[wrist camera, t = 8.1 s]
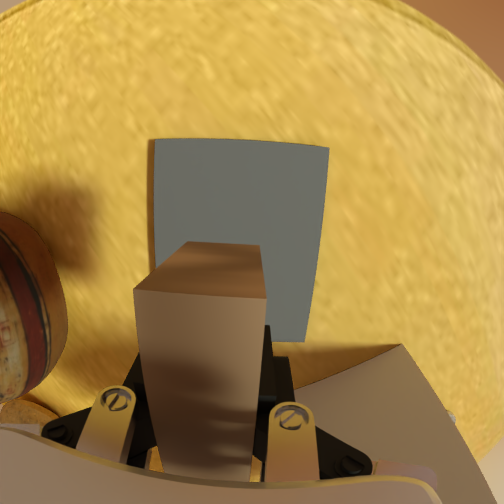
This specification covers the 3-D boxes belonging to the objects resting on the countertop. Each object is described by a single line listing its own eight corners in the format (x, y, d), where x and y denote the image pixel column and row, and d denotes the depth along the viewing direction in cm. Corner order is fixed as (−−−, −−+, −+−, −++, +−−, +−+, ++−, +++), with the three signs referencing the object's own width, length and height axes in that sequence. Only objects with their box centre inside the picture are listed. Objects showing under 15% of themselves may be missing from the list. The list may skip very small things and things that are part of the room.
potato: (77, 443, 37) (59, 480, 28) (14, 399, 35) (-8, 431, 26) (84, 422, 34) (63, 465, 25) (14, 371, 32) (-15, 406, 23)
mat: (303, 337, 28) (304, 342, 27) (163, 328, 28) (161, 333, 27) (326, 148, 23) (329, 147, 22) (158, 139, 22) (155, 139, 22)
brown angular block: (259, 245, 12) (266, 298, 6) (248, 411, 14) (246, 502, 8) (187, 241, 12) (133, 288, 6) (192, 406, 14) (171, 494, 8)
